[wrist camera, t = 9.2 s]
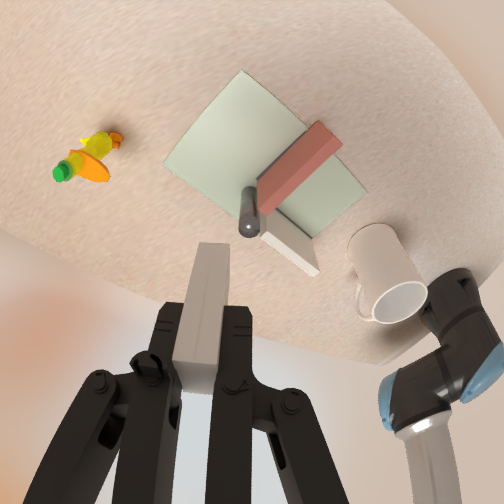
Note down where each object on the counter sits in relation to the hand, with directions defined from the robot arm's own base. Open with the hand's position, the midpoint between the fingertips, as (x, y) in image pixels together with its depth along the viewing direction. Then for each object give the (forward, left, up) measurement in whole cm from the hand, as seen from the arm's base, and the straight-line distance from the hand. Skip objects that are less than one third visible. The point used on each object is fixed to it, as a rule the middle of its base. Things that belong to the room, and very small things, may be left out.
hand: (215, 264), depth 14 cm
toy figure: (+13, +9, -21) cm, 26 cm away
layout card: (-5, 0, -21) cm, 22 cm away
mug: (-25, -1, -21) cm, 33 cm away
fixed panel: (-12, +4, -21) cm, 24 cm away
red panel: (-5, -4, -20) cm, 21 cm away
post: (-5, +4, -21) cm, 22 cm away
